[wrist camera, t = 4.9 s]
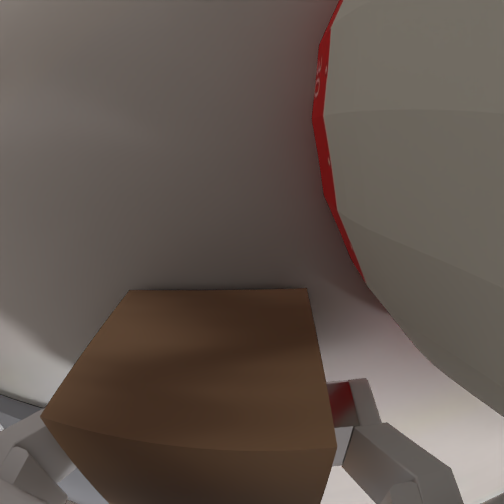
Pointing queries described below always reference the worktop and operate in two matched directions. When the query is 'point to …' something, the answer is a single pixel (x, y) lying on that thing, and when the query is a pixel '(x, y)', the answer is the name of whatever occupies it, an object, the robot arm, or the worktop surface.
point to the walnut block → (200, 401)
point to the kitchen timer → (421, 171)
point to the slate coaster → (72, 484)
